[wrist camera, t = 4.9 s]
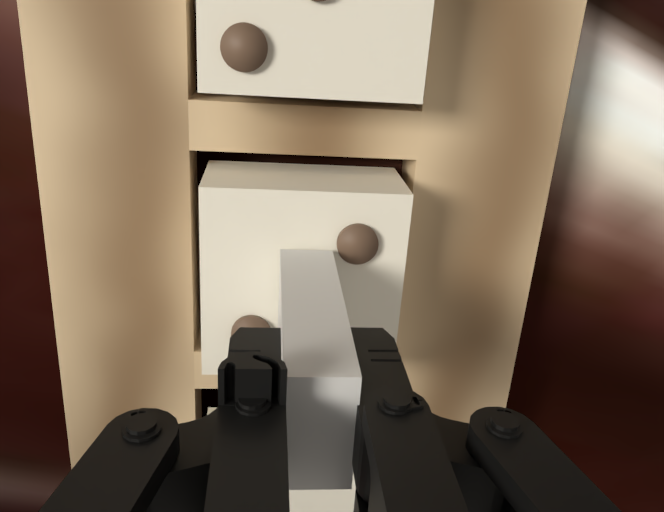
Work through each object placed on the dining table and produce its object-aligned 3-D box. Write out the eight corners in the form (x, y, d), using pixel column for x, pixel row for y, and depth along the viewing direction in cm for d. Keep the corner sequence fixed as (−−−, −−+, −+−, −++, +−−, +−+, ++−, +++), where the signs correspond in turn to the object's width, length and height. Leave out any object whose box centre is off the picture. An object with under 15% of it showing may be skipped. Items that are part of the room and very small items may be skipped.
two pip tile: (211, 326, 22) (201, 378, 19) (209, 160, 20) (197, 189, 17) (377, 328, 23) (393, 379, 20) (394, 167, 21) (415, 197, 18)
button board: (95, 521, 26) (82, 560, 25) (18, -225, 17) (-13, -254, 15) (463, 514, 28) (477, 550, 26) (589, -169, 18) (624, -187, 17)
